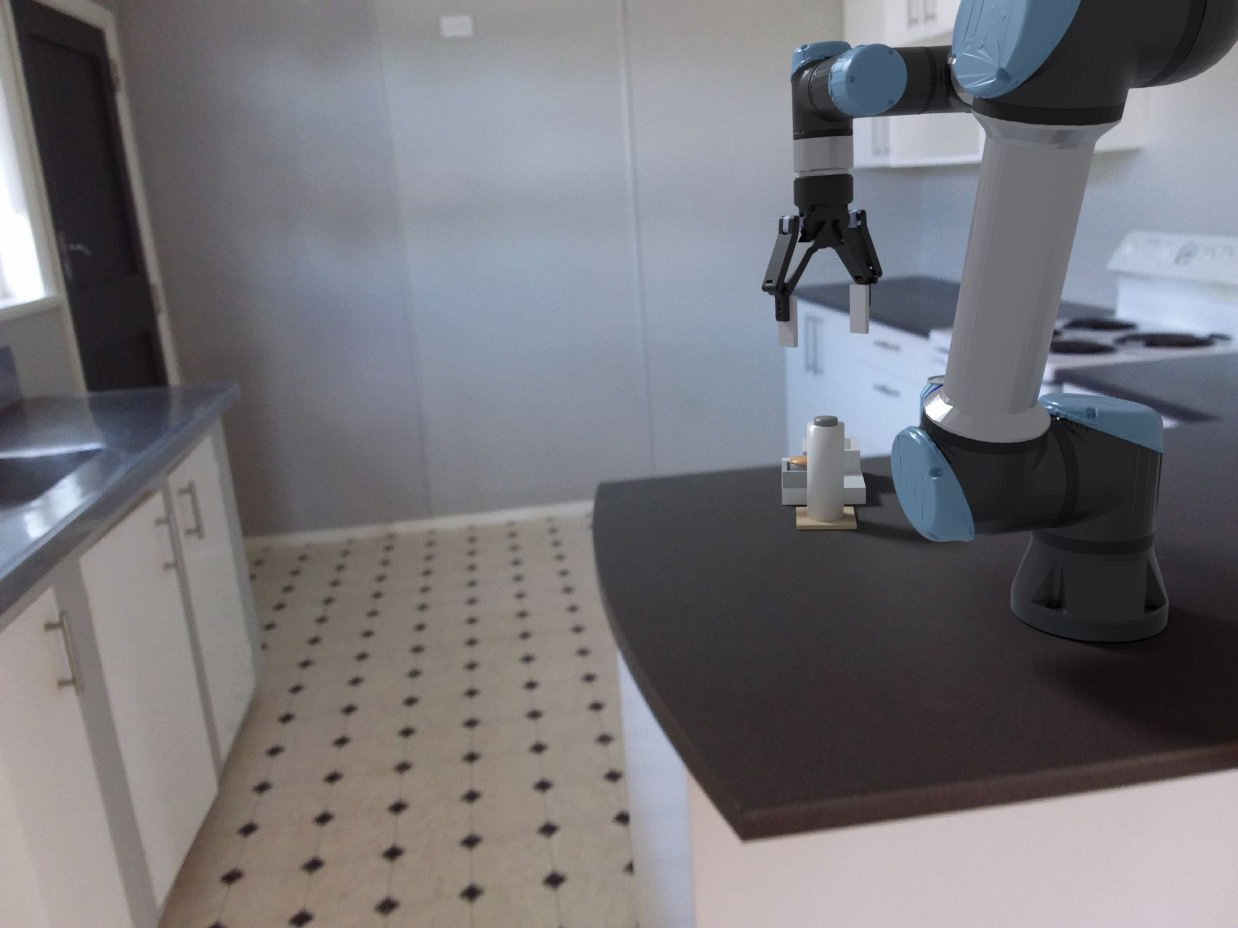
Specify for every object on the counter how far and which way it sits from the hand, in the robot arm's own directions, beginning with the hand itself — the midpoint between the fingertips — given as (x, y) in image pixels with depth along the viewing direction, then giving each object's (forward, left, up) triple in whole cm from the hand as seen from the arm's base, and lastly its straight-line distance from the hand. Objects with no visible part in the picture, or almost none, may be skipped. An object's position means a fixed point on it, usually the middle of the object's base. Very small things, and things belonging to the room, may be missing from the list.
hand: (824, 339), depth 134 cm
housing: (+16, 0, -25) cm, 30 cm away
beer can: (+18, -19, -26) cm, 37 cm away
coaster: (0, 0, -25) cm, 25 cm away
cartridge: (0, 0, -25) cm, 25 cm away
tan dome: (+10, +3, -22) cm, 25 cm away
